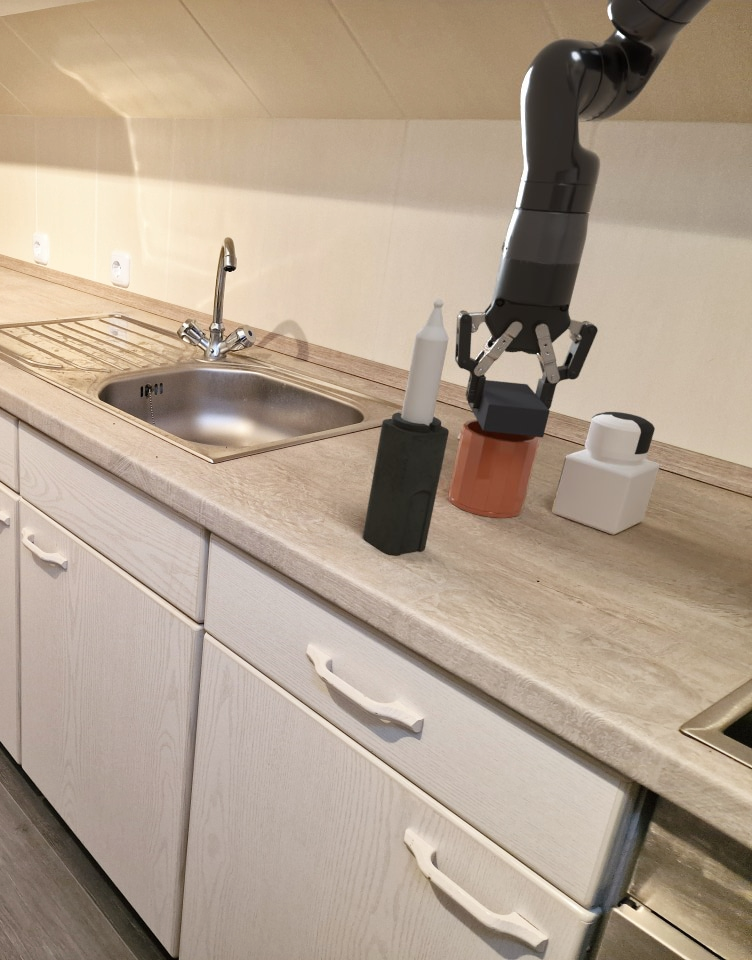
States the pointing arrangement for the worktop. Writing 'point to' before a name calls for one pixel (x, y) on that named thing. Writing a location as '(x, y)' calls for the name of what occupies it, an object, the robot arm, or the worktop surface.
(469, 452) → the cup
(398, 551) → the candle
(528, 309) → the robot arm
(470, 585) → the worktop surface
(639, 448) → the medicine bottle
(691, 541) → the worktop surface
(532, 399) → the dark grey block
